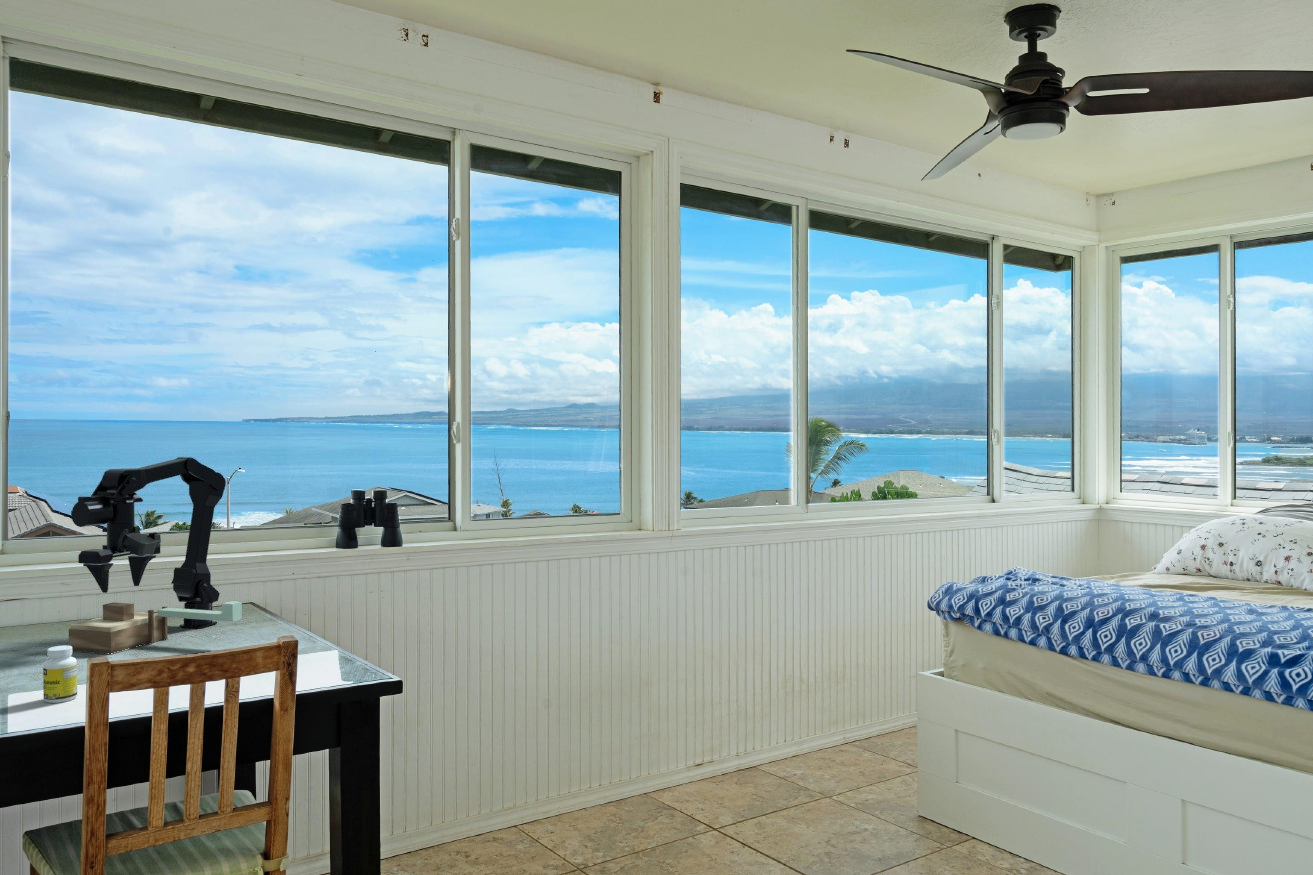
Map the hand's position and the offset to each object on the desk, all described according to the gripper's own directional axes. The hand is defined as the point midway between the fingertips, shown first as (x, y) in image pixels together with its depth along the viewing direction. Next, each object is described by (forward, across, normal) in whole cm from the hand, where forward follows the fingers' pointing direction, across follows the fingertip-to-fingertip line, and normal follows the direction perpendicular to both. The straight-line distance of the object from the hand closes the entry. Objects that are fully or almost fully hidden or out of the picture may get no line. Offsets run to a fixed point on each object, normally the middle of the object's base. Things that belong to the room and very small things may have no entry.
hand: (121, 589), depth 221 cm
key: (+7, +5, -18) cm, 19 cm away
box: (+13, 0, +1) cm, 13 cm away
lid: (+8, 0, +1) cm, 8 cm away
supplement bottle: (+13, -38, -23) cm, 47 cm away
